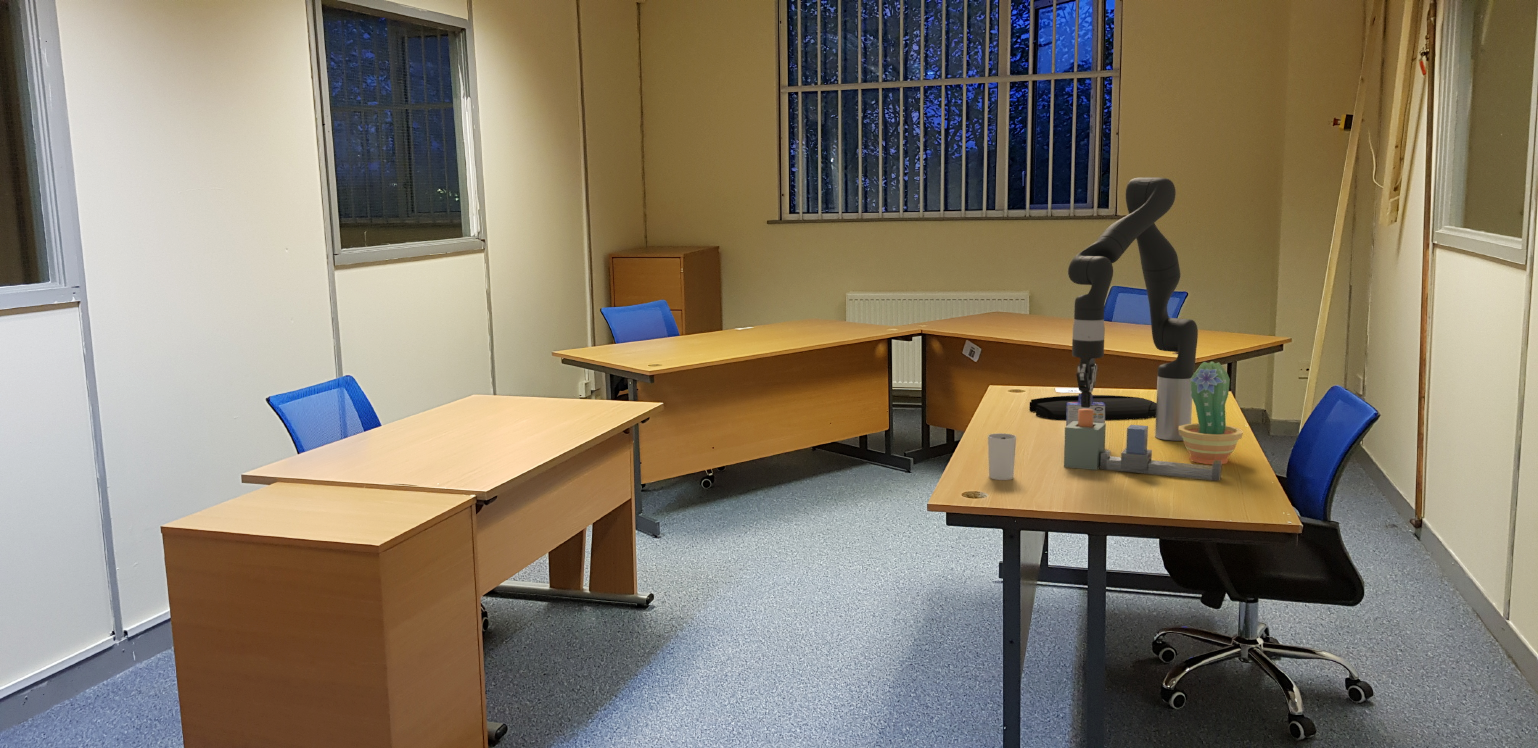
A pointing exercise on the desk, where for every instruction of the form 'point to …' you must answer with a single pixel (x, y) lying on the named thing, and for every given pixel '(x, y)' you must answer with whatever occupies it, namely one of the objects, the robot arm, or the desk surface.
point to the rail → (1166, 468)
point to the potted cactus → (1210, 417)
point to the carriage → (1136, 449)
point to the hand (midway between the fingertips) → (1086, 406)
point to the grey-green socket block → (1084, 445)
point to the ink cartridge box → (1075, 406)
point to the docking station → (1113, 404)
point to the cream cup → (1001, 455)
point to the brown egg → (1085, 418)
